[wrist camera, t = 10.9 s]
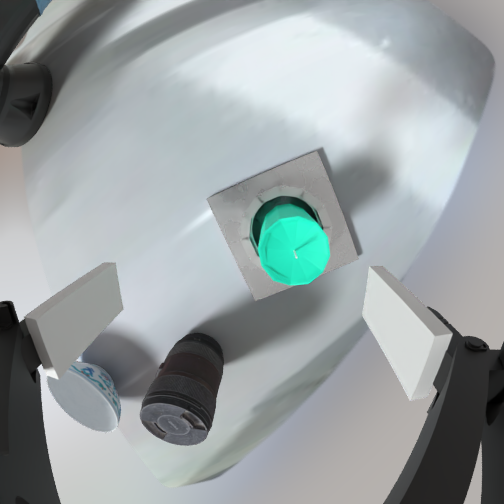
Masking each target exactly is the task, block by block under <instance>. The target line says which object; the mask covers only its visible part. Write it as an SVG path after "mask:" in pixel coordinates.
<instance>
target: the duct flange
mask: <svg viewBox="0 0 504 504" xmlns="http://www.w3.org/2000/svg"><path fill="white" fill-rule="evenodd" d="M207 201H208V203H209V206H210V208H211V210H212V212H213V214H214V216H215V218H216V220H217V223H218V225H219V227H220V229H221V231H222V233H223V235H224V237H225V240H226V242H227V244H228V246H229V248H230V250H231V252H232V254H233V256H234V258H235V260H236V263H237V265H238V267H239V269H240V271H241V273H242V275H243V277H244V279H245V281H246V283H247V285H248V287H249V289H250V292H251V294H252V296H253V298H254V300H255V301H257V300H260V299H263V298H265V297H268V296H270V295H273V294H275V293H278V292H281V291H283V290H286V289H288V288H291V287H293V286H296V285H291V286H290V285H286V284H283V283H279V282H276V281H273V280H272V279H271V277H270V276H269V275H268V274H267V272H266V271H265V270H264V269H263V267H262V266H261V262H260V257H259V252H258V245H259V240H260V234H261V228H262V225H263V222H264V219H265V216H266V214H267V213H268V212H270V211H271V210H272V209H273V208H274V207H276V206H278V205H284V204H293V205H295V206H298V207H301V208H303V209H304V210H305V211H306V212H307V213H308V214H309V215H310V216H311V217H312V218H313V219H314V220H315V221H316V222H317V223H318V225H319V226H320V227H321V229H322V230H323V231H324V232H325V234H326V235H327V236H328V242H329V249H330V257H329V260H328V262H327V264H326V267H325V269H324V271H323V273H322V274H320V275H323V274H325V273H327V272H330V271H332V270H334V269H337V268H339V267H342V266H344V265H346V264H349V263H351V262H353V261H355V260H358V255H357V252H356V249H355V247H354V244H353V241H352V238H351V235H350V232H349V229H348V227H347V224H346V221H345V218H344V216H343V213H342V210H341V208H340V205H339V202H338V200H337V197H336V195H335V192H334V190H333V187H332V185H331V182H330V180H329V177H328V175H327V173H326V170H325V168H324V166H323V163H322V161H321V159H320V156H319V154H318V152H317V151H315V152H313V153H310V154H307V155H305V156H302V157H300V158H298V159H295V160H293V161H290V162H288V163H285V164H283V165H281V166H278V167H276V168H274V169H271V170H269V171H267V172H264V173H262V174H260V175H257V176H255V177H253V178H251V179H248V180H246V181H244V182H242V183H239V184H237V185H235V186H233V187H231V188H229V189H226V190H224V191H222V192H220V193H218V194H216V195H214V196H212V197H209V198H207ZM320 275H319V276H320Z"/></svg>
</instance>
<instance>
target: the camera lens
mask: <svg viewBox="0 0 504 504" xmlns="http://www.w3.org/2000/svg"><path fill="white" fill-rule="evenodd" d="M223 365H224V359H223V353H222V349H221V347H220V345H219V344H218V343H217V342H216V341H215V340H214V339H213V338H211V337H209V336H207V335H205V334H200V333H192V334H189V335H186V336H185V337H183V338H182V339H181V340H179V341H178V342H177V343H176V344H175V345H174V347H173V348H172V349H171V350H170V352H169V354H168V356H167V357H166V359H165V361H164V363H162V364H161V365H160V367H159V369H158V371H157V373H156V378H155V380H154V381H153V383H152V384H151V386H150V388H149V390H148V392H147V394H146V396H145V398H144V400H143V402H142V408H141V411H140V419H141V421H142V424H143V425H144V426H145V428H146V429H147V430H148V431H149V432H151V433H152V434H153V435H155V436H156V437H158V438H160V439H162V440H164V441H166V442H169V443H172V444H176V445H185V446H189V445H196V444H199V443H201V442H203V441H204V440H205V439H206V437H207V435H208V432H209V431H210V429H211V427H212V422H213V418H214V413H215V408H216V397H217V393H218V389H219V385H220V382H221V379H222V375H223Z"/></svg>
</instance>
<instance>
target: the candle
mask: <svg viewBox="0 0 504 504" xmlns="http://www.w3.org/2000/svg"><path fill="white" fill-rule="evenodd" d="M258 252H259V257H260V262H261V266H262V267H263V269H264V270H265V271H266V272H267V274H268V275H269V276H270V277H271V279H272V280H273V281H276V282H279V283H283V284H286V285H290V286H291V285H303V284H309V283H311V282H312V281H313V280H314V279H315V278H317V277H318V276H319V275H320V274H322V273H323V271H324V269H325V267H326V264H327V262H328V260H329V257H330V249H329V242H328V236H327V235H326V234H325V232H324V231H323V230H322V229H321V227H320V226H319V225H318V223H317V222H316V221H315V220H314V219H313V218H312V217H311V216H310V215H309V214H308V213H307V212H306V211H305V210H304V209H303V208H301V207H298V206H295V205H293V204H284V205H278V206H276V207H274V208H273V209H272V210H271V211H270V212H268V213H267V214H266V216H265V219H264V222H263V225H262V228H261V234H260V240H259V245H258Z"/></svg>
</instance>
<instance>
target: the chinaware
mask: <svg viewBox="0 0 504 504" xmlns="http://www.w3.org/2000/svg"><path fill="white" fill-rule="evenodd" d="M47 384H48V387H49V390H50V392H51V394H52V396H53V397H54V399H55V400H56V402H57V403H58V404H59V406H60V407H61V408H62V409H63V410H64V411H65V412H66V413H67V414H68V415H69V416H71V417H72V418H73V419H74V420H76V421H77V422H79V423H80V424H82V425H84V426H86V427H87V428H90V429H92V430H95V431H98V432H105V433H107V432H112V431H114V430H115V429H116V428H117V427H118V424H119V420H120V414H121V405H120V399H119V395H118V393H117V390H116V388H115V386H114V382H113V380H112V378H111V376H110V375H109V374H108V373H107V372H106V371H105V370H104V369H103V368H101V367H100V366H98V365H95V364H87V363H84V362H78V361H75V362H74V363H73V364H72V365H71V367H70V368H69V369H68V370H67V371H66V372H65V373H64V375H63V376H62V377H61V378H60V379H59V380H58V379H55V378H53V377H50V376H47Z"/></svg>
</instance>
